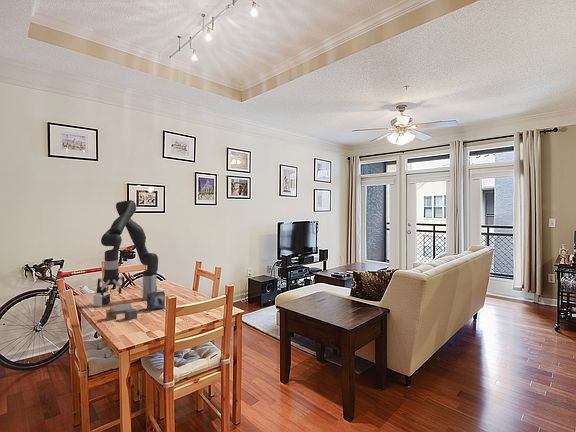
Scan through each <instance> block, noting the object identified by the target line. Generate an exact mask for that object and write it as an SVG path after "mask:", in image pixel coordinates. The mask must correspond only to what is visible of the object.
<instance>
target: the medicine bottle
mask: <svg viewBox="0 0 576 432" xmlns="http://www.w3.org/2000/svg"><path fill="white" fill-rule="evenodd" d="M92 296H93V297H92V299H93V300H92V303H93V304H92V306H93V307H106V306H107V305H110V304H111V293H110V292H109V293H108V287H107V286H106V287H105V288H104V296H102V295H101V290H100V289H97V288H96V294H93V295H92Z"/></svg>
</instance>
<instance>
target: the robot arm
mask: <svg viewBox="0 0 576 432" xmlns="http://www.w3.org/2000/svg"><path fill="white" fill-rule="evenodd" d="M115 209H116V210H115V211H116V212H117V214H118V217H116V218H115V220H114V221H113V223H112V224H111V226H110V228H109V229H107V231H106V232H105V233H104V234H103V235H102V236H101V239H100V243H101V245H102V246H103V247H112V249H108V250H105V251H104V262H103V278H100V277H98V278H97V283H96V284H97V288H96V290H97V289H100V290H101V295H102V296H104V288H105V287H107V286H114V285H116V286H117V287H118V295H121V293H122V288H123V287H125V285H126V284H125V276H124V275H122V276H119V264H120V263H119V252H120V251H119V250H120V246H121V244H122V241H123V239H122V236H121V235H122V233H123V231H124V229H125V228H126V230H127V233H128V234H129V237H130V239H131V241H132V243H133V245H134V248H135V249H136V252H137V256H138V258H139V261H140V263H141V265H143V266H147V267H146V270H143V271H142V300H143V301H147V293H150V292H158V286H157V274H158V273H157V272H158V268H159V256H158V255H157V254H156V253H154V252H149V250H148V249H147V247H146V241H147V238H146V237H147V236H146V234H145V231H144V229H143V227H142V226H141V225H140V224H138V223H137V222H135V221H134V220H133V219H131V218H132V217H133V215H134V214H135V213H136V210H137V204H136V201H134V200H132V199H129V200H128V199H127V200H123V201H117V202H116V203H115ZM119 280H120V281H121V284H120V282H119ZM102 282H104V283H103V285H101V283H102Z"/></svg>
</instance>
